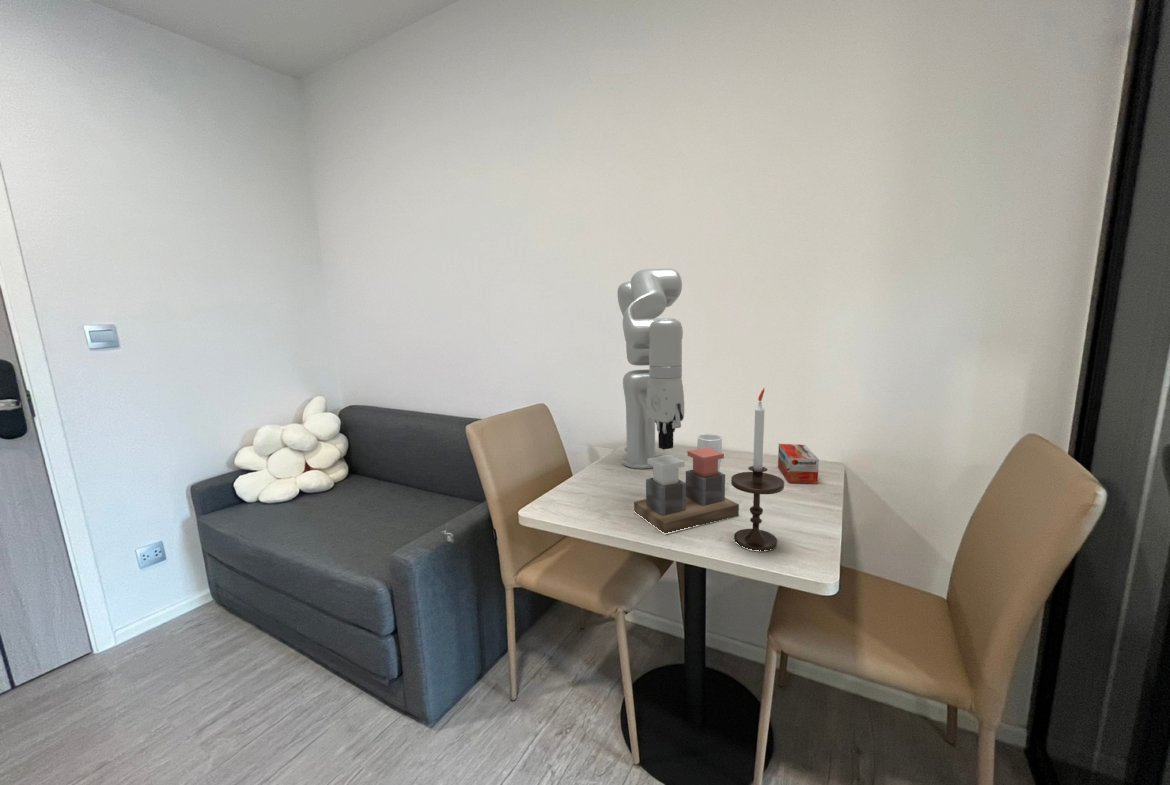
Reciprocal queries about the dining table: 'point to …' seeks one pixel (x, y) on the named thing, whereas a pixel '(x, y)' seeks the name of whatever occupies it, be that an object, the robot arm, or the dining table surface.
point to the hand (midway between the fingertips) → (665, 447)
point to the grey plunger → (665, 469)
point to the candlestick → (757, 490)
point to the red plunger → (705, 461)
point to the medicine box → (798, 463)
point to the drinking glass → (710, 443)
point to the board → (686, 502)
